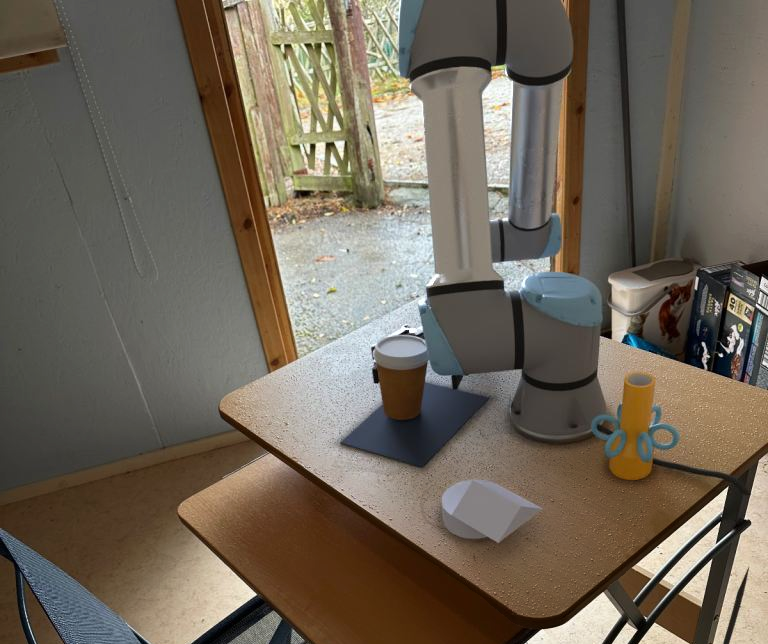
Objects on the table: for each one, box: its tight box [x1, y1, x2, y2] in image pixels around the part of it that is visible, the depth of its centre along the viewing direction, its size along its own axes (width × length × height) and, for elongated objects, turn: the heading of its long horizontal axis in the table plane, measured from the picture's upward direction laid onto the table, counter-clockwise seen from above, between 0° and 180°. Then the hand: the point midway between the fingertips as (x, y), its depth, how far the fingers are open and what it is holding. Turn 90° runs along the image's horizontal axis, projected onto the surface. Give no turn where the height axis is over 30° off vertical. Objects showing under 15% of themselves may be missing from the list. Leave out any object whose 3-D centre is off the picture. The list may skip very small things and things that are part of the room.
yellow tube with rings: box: [591, 371, 680, 481], centre depth 109 cm, size 12×10×15 cm
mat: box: [339, 381, 490, 469], centre depth 130 cm, size 16×22×1 cm
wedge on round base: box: [441, 478, 544, 544], centre depth 106 cm, size 9×7×13 cm
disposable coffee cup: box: [373, 335, 430, 420], centre depth 129 cm, size 10×10×12 cm
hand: (413, 379), depth 126 cm, fingers open, 13 cm apart
